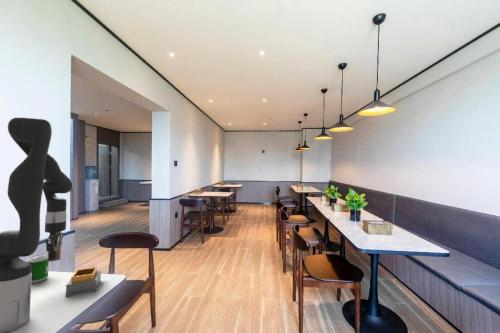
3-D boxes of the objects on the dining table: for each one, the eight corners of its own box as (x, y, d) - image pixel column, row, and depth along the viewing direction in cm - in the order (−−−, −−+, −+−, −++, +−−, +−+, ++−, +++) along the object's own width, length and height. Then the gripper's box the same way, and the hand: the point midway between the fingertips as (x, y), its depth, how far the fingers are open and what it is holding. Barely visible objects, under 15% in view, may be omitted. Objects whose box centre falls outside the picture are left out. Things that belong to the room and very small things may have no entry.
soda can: (42, 283, 108) (43, 258, 108) (23, 285, 106) (24, 259, 106) (51, 276, 115) (52, 253, 116) (33, 278, 113) (34, 254, 113)
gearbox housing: (95, 291, 101) (96, 274, 101) (65, 296, 97) (66, 279, 97) (100, 280, 111) (101, 265, 111) (73, 285, 107) (74, 269, 107)
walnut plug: (58, 260, 102) (59, 243, 102) (45, 262, 100) (46, 244, 101) (61, 257, 106) (62, 240, 106) (49, 258, 104) (50, 241, 105)
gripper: (60, 223, 99) (58, 261, 98) (70, 217, 112) (69, 251, 111) (38, 224, 96) (36, 264, 95) (51, 218, 109) (49, 253, 108)
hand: (54, 257), depth 103 cm, fingers closed on walnut plug, 4 cm apart
